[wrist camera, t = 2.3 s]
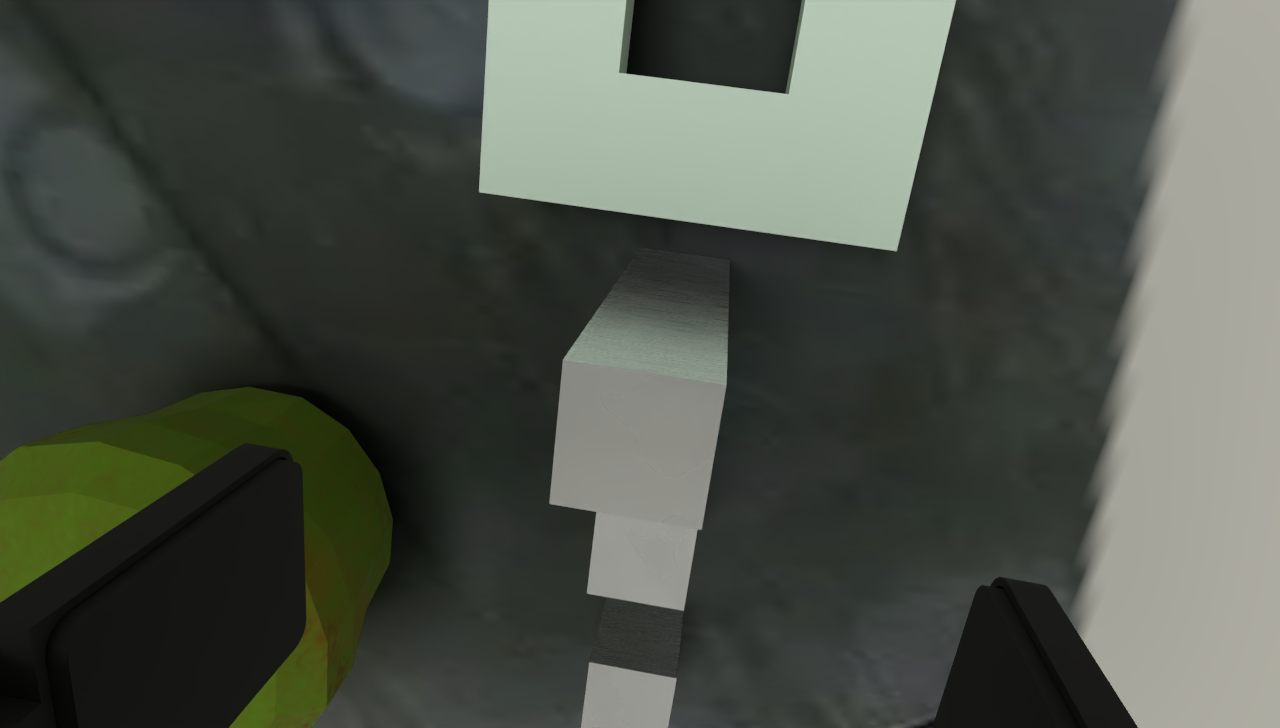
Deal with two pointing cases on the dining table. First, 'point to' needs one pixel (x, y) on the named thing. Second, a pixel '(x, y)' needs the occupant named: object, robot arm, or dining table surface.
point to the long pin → (646, 393)
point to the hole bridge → (715, 120)
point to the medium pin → (641, 561)
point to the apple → (179, 449)
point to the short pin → (633, 666)
